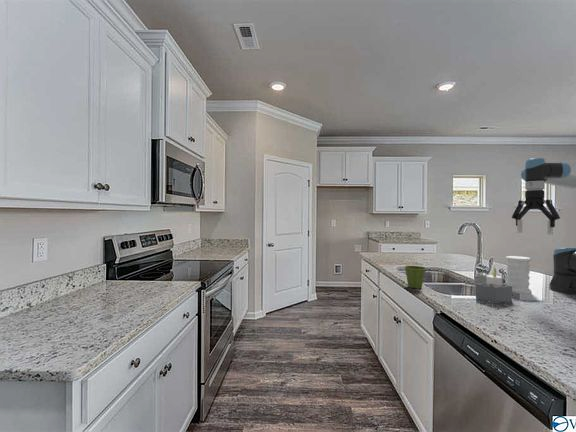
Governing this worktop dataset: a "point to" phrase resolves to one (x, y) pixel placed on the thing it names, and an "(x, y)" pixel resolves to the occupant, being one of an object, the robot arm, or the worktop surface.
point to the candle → (494, 280)
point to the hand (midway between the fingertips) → (534, 233)
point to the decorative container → (518, 274)
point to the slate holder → (494, 293)
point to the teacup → (481, 279)
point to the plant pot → (415, 276)
